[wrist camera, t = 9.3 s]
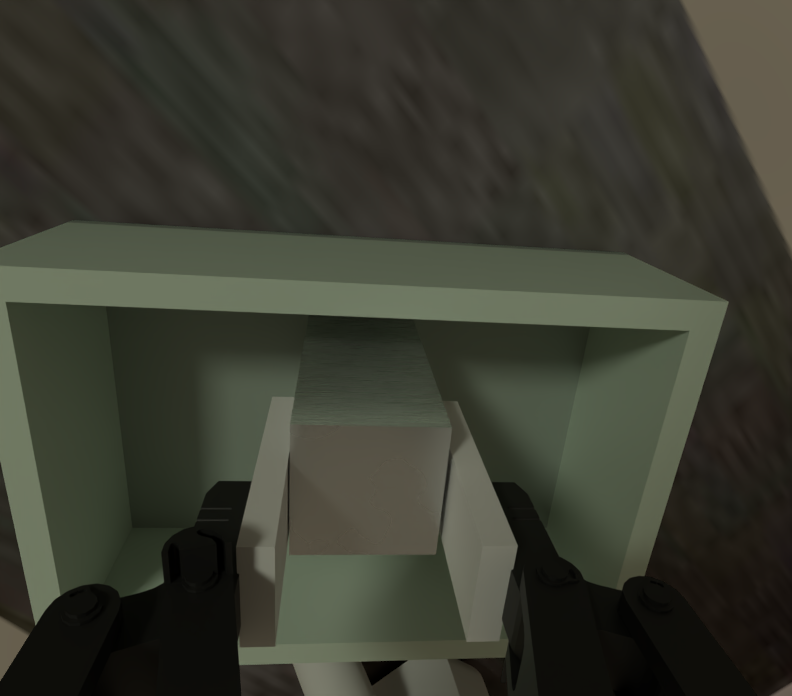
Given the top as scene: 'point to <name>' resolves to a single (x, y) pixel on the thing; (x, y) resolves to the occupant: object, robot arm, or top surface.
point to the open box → (277, 377)
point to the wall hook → (392, 679)
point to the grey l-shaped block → (366, 441)
